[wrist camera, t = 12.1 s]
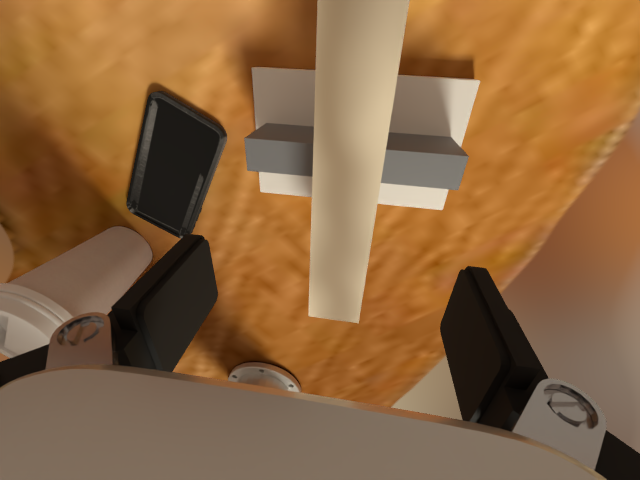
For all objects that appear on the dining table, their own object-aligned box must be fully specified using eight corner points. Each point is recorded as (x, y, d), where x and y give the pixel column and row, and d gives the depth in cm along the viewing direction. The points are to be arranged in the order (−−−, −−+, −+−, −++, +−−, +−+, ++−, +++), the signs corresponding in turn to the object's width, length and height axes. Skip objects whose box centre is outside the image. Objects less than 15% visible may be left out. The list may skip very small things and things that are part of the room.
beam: (407, -34, 16) (419, -63, 12) (360, 282, 28) (358, 323, 24) (332, -36, 16) (319, -64, 12) (317, 276, 28) (308, 316, 24)
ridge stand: (439, 203, 30) (455, 240, 24) (264, 186, 32) (240, 217, 26) (474, 79, 24) (507, 88, 18) (257, 66, 26) (224, 71, 20)
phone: (124, 209, 35) (149, 86, 27) (131, 205, 36) (157, 85, 28) (187, 242, 37) (228, 133, 29) (192, 237, 38) (232, 131, 30)
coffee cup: (122, 202, 36) (-12, 285, 23) (178, 262, 40) (88, 360, 27) (78, 233, 39) (-59, 318, 27) (133, 284, 43) (36, 380, 31)
